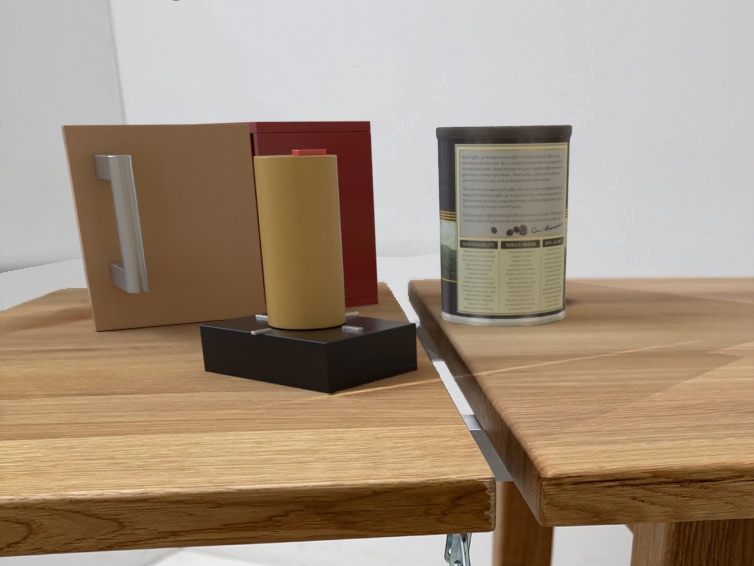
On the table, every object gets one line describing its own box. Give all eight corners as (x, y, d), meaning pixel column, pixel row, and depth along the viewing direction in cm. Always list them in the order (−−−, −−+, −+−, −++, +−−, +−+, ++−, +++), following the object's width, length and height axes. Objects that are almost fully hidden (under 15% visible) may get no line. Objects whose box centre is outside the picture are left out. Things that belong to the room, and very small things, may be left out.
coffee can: (413, 317, 83) (407, 126, 77) (503, 303, 90) (504, 125, 84) (502, 333, 77) (503, 124, 71) (592, 316, 83) (600, 124, 77)
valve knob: (308, 332, 61) (295, 150, 56) (252, 325, 63) (235, 150, 59) (362, 320, 64) (353, 149, 60) (306, 314, 67) (294, 149, 62)
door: (292, 327, 79) (276, 122, 73) (112, 344, 73) (78, 124, 67) (262, 314, 85) (245, 123, 79) (93, 329, 79) (60, 125, 73)
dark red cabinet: (273, 316, 85) (256, 121, 79) (214, 297, 95) (195, 124, 89) (378, 305, 90) (370, 120, 84) (312, 288, 100) (300, 123, 94)
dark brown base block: (198, 374, 65) (192, 323, 63) (300, 351, 71) (296, 304, 70) (323, 397, 59) (319, 341, 57) (422, 370, 65) (421, 319, 64)
